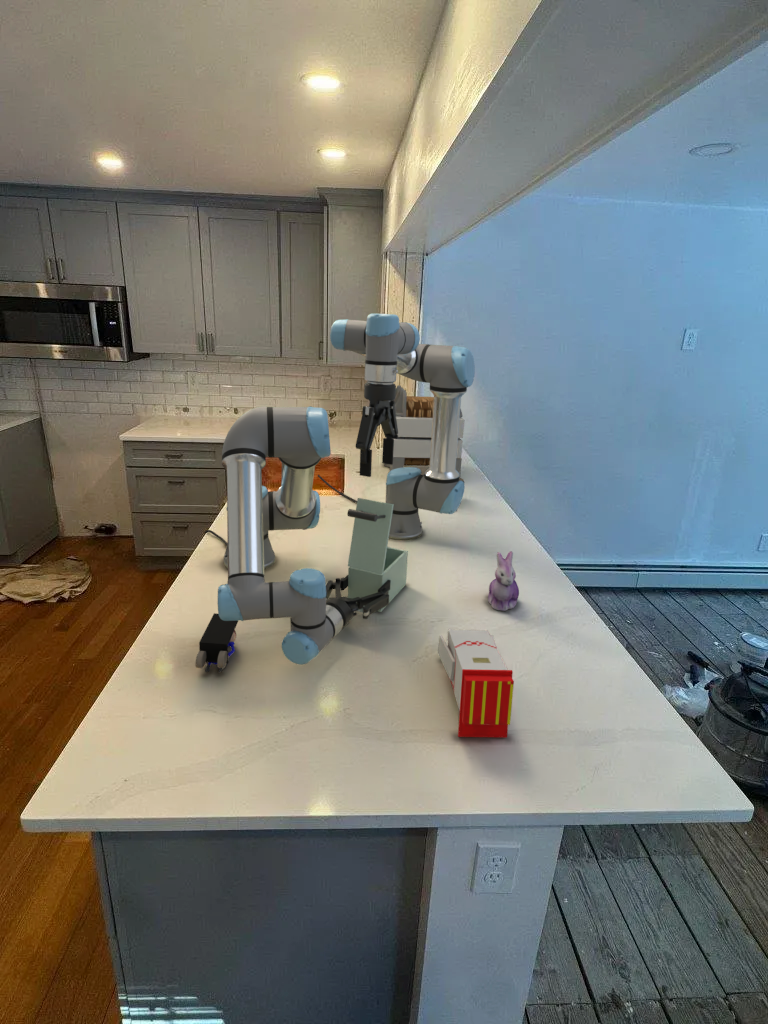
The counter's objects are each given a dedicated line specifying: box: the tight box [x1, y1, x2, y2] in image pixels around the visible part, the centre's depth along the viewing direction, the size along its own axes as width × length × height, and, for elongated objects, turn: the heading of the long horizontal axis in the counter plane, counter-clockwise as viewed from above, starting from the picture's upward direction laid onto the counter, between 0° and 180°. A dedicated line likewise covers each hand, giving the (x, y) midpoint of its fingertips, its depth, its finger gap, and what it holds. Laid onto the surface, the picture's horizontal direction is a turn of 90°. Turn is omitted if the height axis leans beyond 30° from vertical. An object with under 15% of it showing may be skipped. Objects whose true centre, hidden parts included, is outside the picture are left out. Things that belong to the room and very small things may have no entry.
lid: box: [347, 497, 394, 574], centre depth 142 cm, size 18×10×8 cm
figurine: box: [487, 550, 520, 612], centre depth 153 cm, size 9×10×15 cm
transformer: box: [382, 384, 465, 478], centre depth 268 cm, size 34×33×41 cm
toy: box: [437, 628, 515, 738], centre depth 117 cm, size 12×13×30 cm
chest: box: [347, 546, 409, 613], centre depth 155 cm, size 18×10×11 cm, turn 156°
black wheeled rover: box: [195, 612, 239, 673], centre depth 125 cm, size 7×8×15 cm
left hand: (370, 580), depth 151 cm, fingers closed on chest, 10 cm apart
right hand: (376, 469), depth 142 cm, fingers open, 13 cm apart
